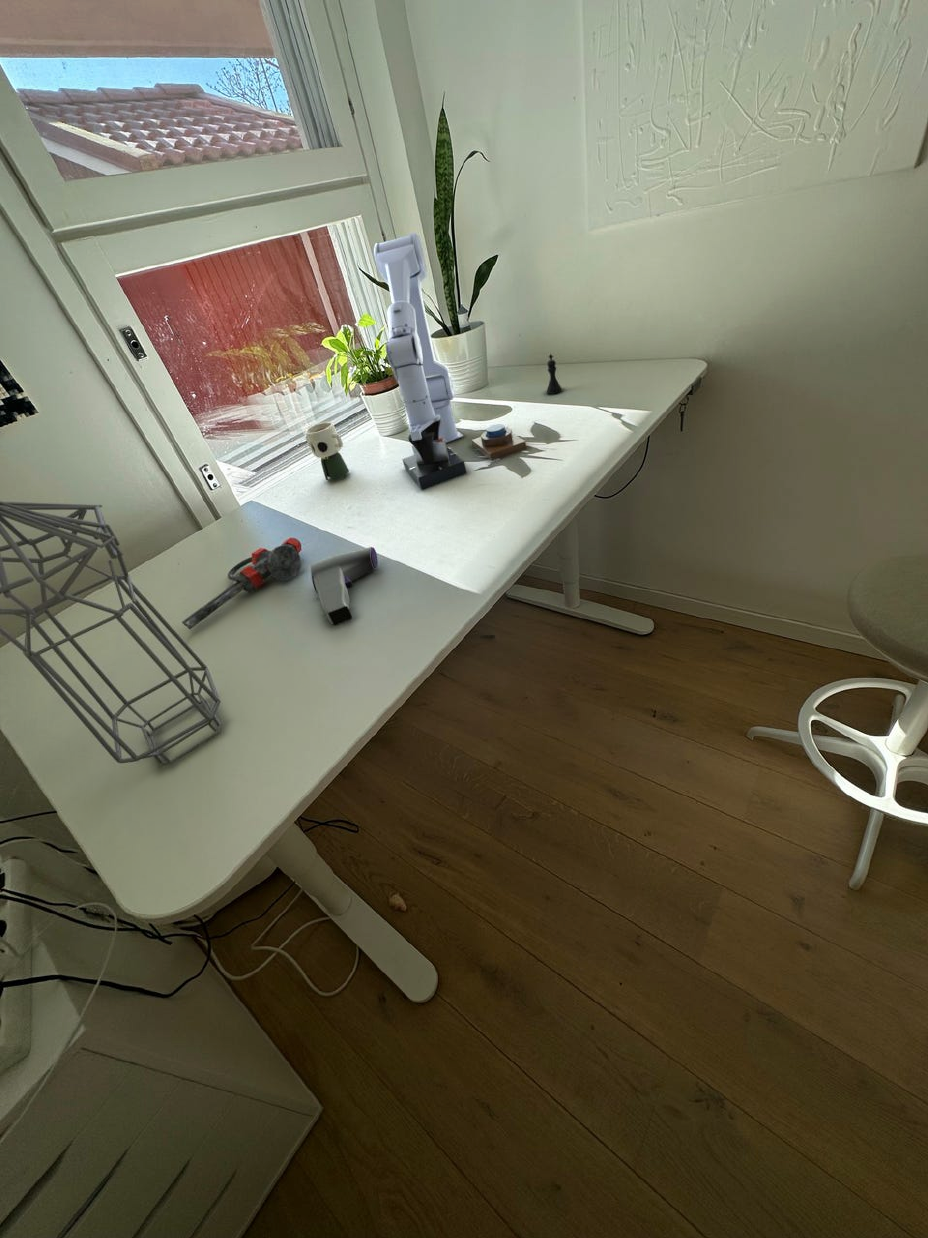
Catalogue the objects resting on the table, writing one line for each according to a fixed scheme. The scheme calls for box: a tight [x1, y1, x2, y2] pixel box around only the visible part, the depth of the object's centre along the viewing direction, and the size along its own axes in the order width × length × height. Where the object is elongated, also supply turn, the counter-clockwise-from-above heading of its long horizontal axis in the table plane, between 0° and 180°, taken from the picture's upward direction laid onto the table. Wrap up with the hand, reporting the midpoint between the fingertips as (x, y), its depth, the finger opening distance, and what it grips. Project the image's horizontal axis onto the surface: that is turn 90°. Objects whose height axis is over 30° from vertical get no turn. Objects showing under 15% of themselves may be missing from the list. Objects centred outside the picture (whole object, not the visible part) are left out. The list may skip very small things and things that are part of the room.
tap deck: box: [402, 446, 468, 491], centre depth 121 cm, size 14×12×3 cm
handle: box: [411, 438, 449, 465], centre depth 118 cm, size 8×2×5 cm, turn 81°
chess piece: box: [546, 354, 563, 395], centre depth 145 cm, size 4×4×10 cm
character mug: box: [304, 421, 350, 482], centre depth 129 cm, size 11×7×13 cm, turn 64°
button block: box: [471, 426, 527, 462], centre depth 124 cm, size 12×9×4 cm
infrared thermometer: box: [310, 546, 379, 626], centre depth 88 cm, size 5×12×15 cm
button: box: [485, 423, 506, 438], centre depth 123 cm, size 4×4×2 cm
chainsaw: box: [181, 537, 303, 630], centre depth 98 cm, size 6×26×15 cm
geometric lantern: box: [0, 501, 223, 767], centre depth 61 cm, size 16×16×35 cm
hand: (432, 458), depth 119 cm, fingers open, 5 cm apart
